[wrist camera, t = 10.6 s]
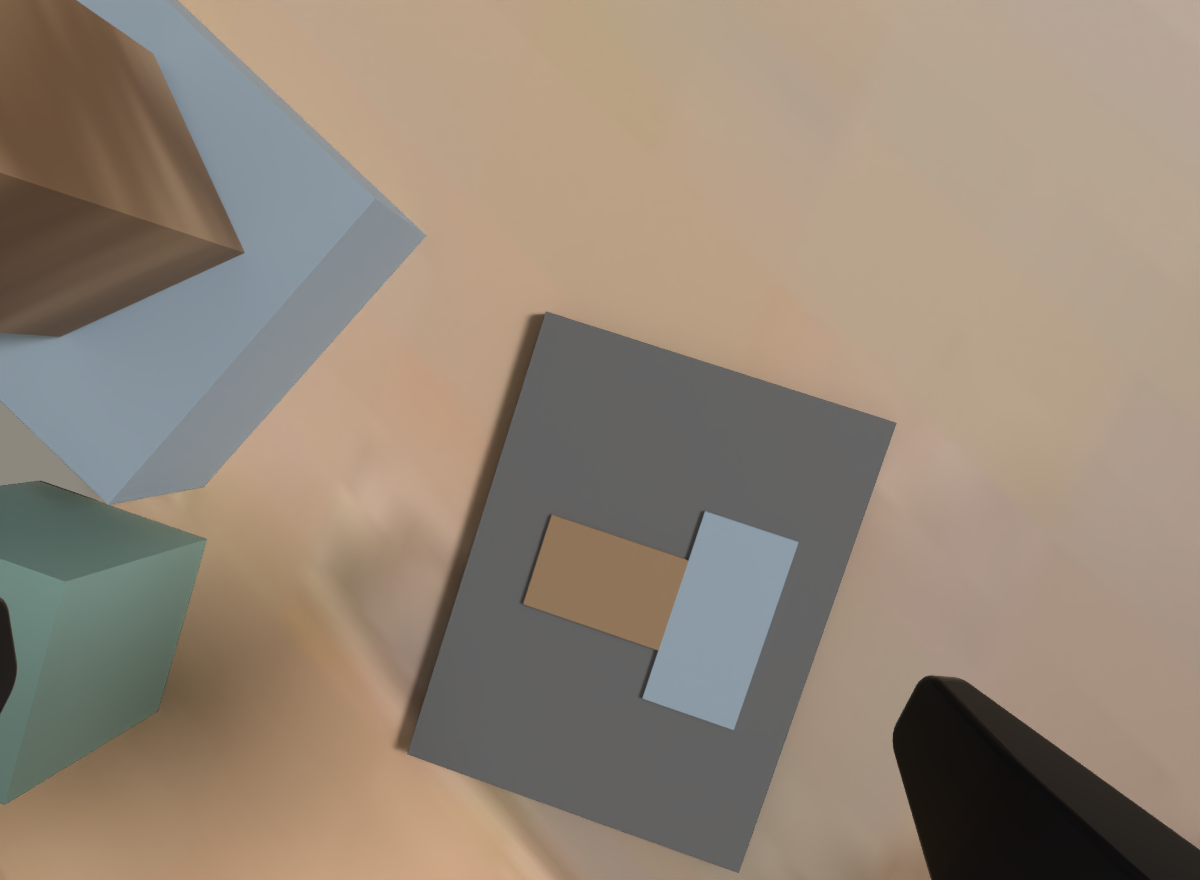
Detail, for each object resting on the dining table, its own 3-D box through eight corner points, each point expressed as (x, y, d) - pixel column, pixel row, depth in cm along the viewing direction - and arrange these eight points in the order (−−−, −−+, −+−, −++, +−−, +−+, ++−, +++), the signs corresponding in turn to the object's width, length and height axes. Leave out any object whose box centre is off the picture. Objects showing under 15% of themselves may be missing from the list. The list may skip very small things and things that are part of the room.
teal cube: (159, 709, 21) (4, 804, 16) (-5, 650, 21) (-206, 725, 16) (208, 538, 21) (65, 581, 16) (41, 480, 21) (-151, 505, 16)
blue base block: (431, 238, 20) (375, 198, 16) (211, 485, 21) (107, 504, 17) (186, 7, 20) (71, -89, 16) (-22, 260, 21) (-179, 227, 17)
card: (737, 863, 20) (739, 875, 19) (412, 747, 20) (405, 755, 20) (891, 422, 19) (897, 423, 19) (548, 313, 20) (545, 311, 19)
